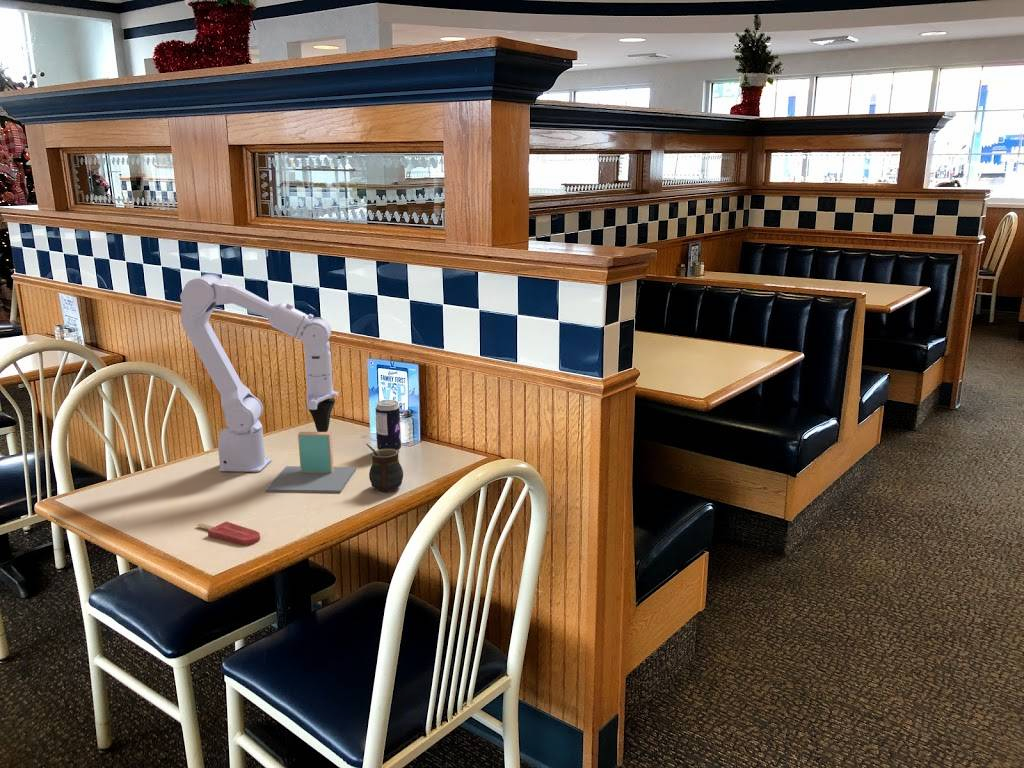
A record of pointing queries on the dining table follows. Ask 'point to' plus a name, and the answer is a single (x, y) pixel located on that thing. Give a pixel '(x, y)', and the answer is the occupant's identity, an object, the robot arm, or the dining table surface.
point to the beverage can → (388, 425)
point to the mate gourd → (385, 470)
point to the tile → (316, 452)
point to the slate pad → (311, 480)
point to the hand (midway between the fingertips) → (322, 431)
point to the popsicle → (232, 533)
